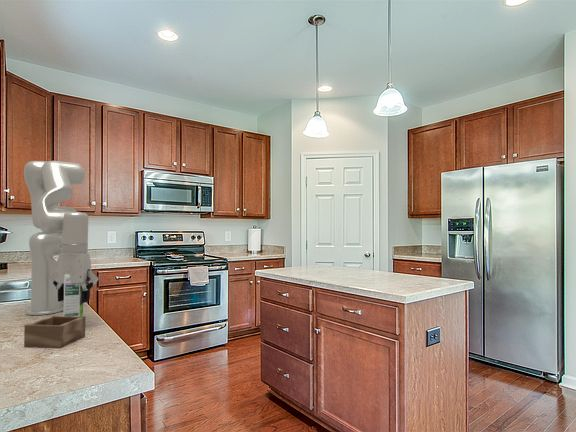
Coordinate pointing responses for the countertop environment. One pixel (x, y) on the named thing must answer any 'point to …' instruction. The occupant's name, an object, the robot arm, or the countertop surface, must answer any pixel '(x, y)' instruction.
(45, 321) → the walnut holder
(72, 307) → the syrup box
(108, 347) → the countertop surface
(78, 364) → the countertop surface
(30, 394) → the countertop surface
